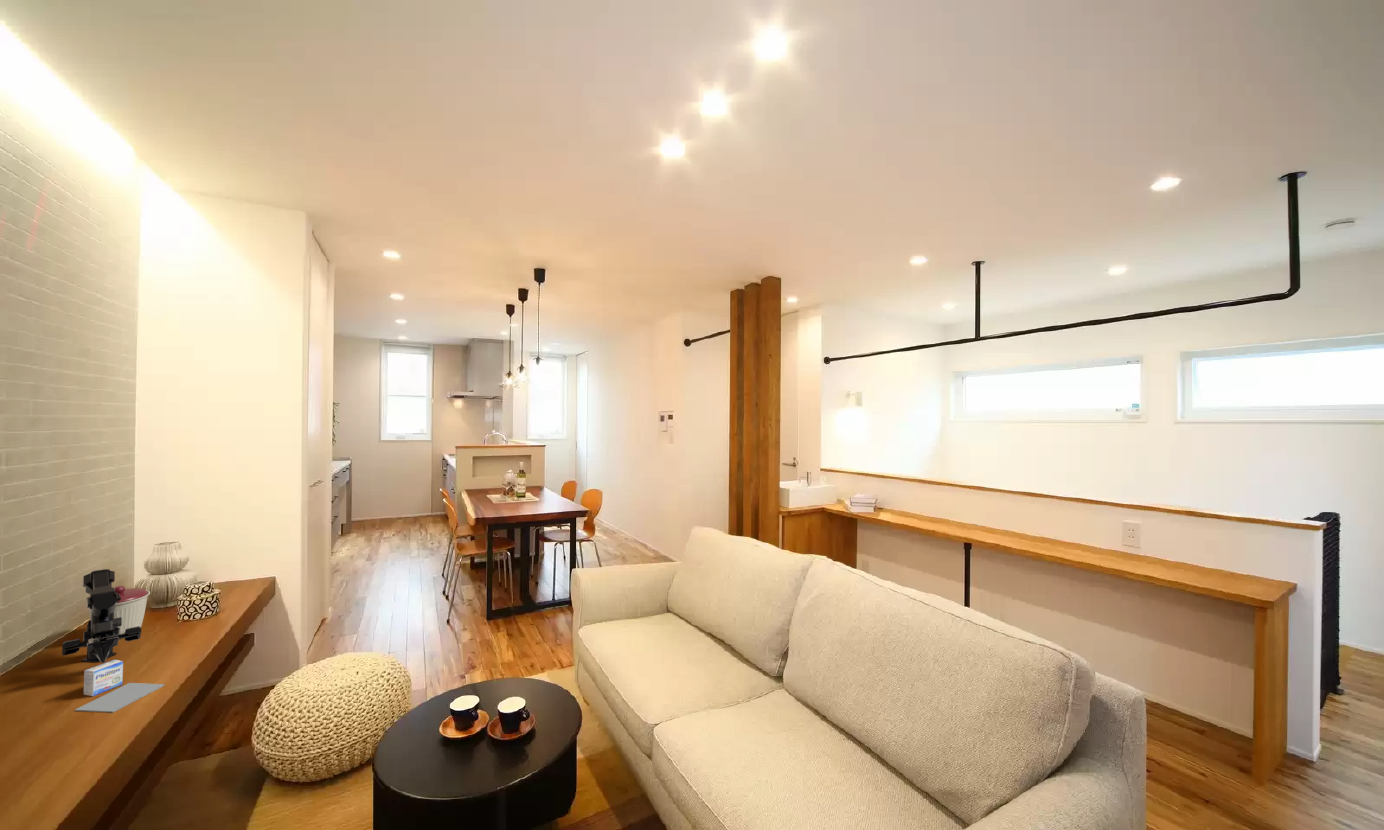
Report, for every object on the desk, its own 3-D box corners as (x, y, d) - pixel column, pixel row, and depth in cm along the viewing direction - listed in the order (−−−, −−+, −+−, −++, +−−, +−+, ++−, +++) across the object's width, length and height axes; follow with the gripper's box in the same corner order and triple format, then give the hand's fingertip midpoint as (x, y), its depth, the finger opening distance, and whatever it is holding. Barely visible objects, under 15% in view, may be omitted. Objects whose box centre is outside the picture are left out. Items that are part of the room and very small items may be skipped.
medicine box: (92, 696, 171) (93, 671, 170) (82, 694, 171) (83, 669, 171) (122, 684, 178) (123, 660, 178) (113, 682, 179) (114, 658, 179)
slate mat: (74, 710, 163) (74, 709, 163) (129, 683, 179) (129, 682, 179) (112, 712, 163) (112, 711, 163) (164, 685, 179) (164, 684, 179)
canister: (81, 636, 211) (83, 586, 210) (144, 622, 225) (146, 576, 225) (87, 649, 200) (88, 597, 200) (152, 634, 215) (154, 585, 215)
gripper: (63, 619, 176) (61, 661, 169) (141, 604, 191) (143, 643, 184) (62, 634, 181) (61, 675, 174) (139, 619, 196) (140, 656, 189)
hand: (103, 662), depth 180 cm, fingers closed
